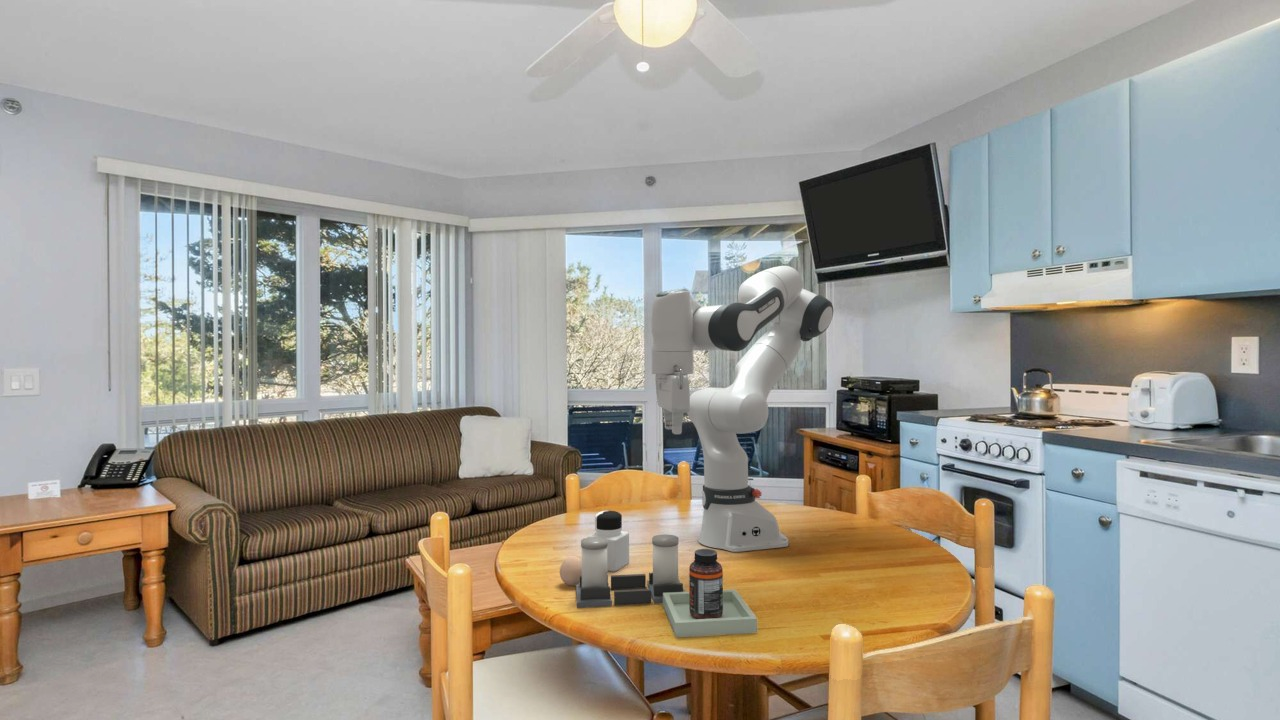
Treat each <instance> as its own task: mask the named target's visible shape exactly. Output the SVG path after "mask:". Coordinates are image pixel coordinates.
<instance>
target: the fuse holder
mask: <svg viewBox="0 0 1280 720" xmlns="http://www.w3.org/2000/svg"><path fill="white" fill-rule="evenodd" d="M651 540H652V541H651V544H652V572H649V573H648V580H647V579H646V573H634V574H632V573H631V574H615V575H610V583H609V575H608V571H607V546H608V540H607V539H606V538H602V537H589V538H587V537H586V538H583V539H581V540H580V547H581V562H582V576H580V582H579V583H578V584H576V585H575V587H576V588H575V591H576V592H575V594H576V608H577V609H582V608H601V607H603V608H604V607H612V606H613V605H614V606H631V605H635V606H636V605H651V604H652V603H653V604H654V605H663V593H669V592H686V591H685V589H684V584H683V583H682V582H681V581H680V579H679V537H678V536H677V535H674V534H668V533H667V534H666V533H665V534H657V535H654V536H652V537H651ZM646 582H647V584H646ZM646 585H647V586H646ZM611 590H613V599H612V595H611Z"/></svg>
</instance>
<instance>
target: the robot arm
mask: <svg viewBox="0 0 1280 720" xmlns="http://www.w3.org/2000/svg"><path fill="white" fill-rule="evenodd" d="M803 287H804V283H803V278H802V276H801V274H800V273H799V272H798V270H797V269H796V268H794V267H792V266H789V265H779V266H774V267H770V268H767V269H764V270H761V271H759V272H757V273H754V274H753V275H751V276H750V277H748V278H746V279H745V280H744V281H743V282H742V283H741V284H740V286H739V289H738V292H737V293H738V294H737V300H738V302H733V303H732V302H731V303H726V304H717V305H707V306H704V305H703V304H700V303H699V302H697V301H696V300H695V299H694V298H693V296H692V295H691V292H690V290H689V289H686V288H678V289H671V290H664V291H660V292H658V293H657V294H656V295H655V297H654V299H653V301H652V302H653V303H652V309H651V335H652V338H653V344H652V348H651V374H652V375H654V376H655V378H654V379H655V390H656V391H655V392H656V400H657V405H658V406H659V407H660V408H661V409H662V410H663V411H662V413H663V419H664V428H665V430H671V433H672V434H674V435H681V434H682V432H683V421H684V414H685V413H686V414H687V417H688V418H689V420H690V421H691V422H692V424H693V425H694V428H695V429H696V431H697V434H698V437H699V441H700V445H701V448H702V453H703V454H702V456H703V473H704V474H703V475H704V477H703V481H704V482H703V483H704V484H703V485H702V491H701V493H702V494H701V495H702V497H701V501H702V507H703V511H702V513H703V514H702V523H701V527H700V532H699V535H698V538H697V540H698V542H699V543H700V544H701V545H703V546H705V547H708V548H709V547H710V548H713V549H714V548H715V549H721V550H726V551H729V552H732V553H733V552H734V553H738V552H739V553H742V552H749V551H758V550H767V549H769V550H770V549H775V548H776V549H778V548H785V547H786V548H787V547H788V546H789V539H788V537H787V536H786V535H785V534H784V533H782V532H780V529H779V528H780V527H779V523H778V520H777V518H776V517H775V516H774V514H773V513H771V512H770V511H769V510H768V509H767V508H765V507H764V506H763V505H762V504H760V503H759V502H758V501H756V499H761V497H762V495H763V494H762V491H761V490H759V489H758V488H754V487H752V486H750V485H749V457H748V454H747V452H746V450H744V449H743V447H742V446H741V444H740V442H739V439H738V435H737V434H740V435H741V434H749V433H755V432H758V431H760V430H761V429H763V428H764V427H765V425H766V423H767V421H768V418H769V415H770V414H769V413H770V411H769V404H768V402H767V401H768V400H767V399H768V397H769V395H770V393H771V391H772V389H773V388H775V386H776V384H777V383H778V381H779V380H780V379H781V378H782V377H783V376H784V374H785V373H786V372H787V371H788V369H789V368H790V366H791V365H792V364H793V362H794V360H795V359H796V357H797V355H798V354H799V352H800V349H801V346H802V342H809V341H811V340H812V339H813V338H817V337H818V336H819V337H820V335H821V334H823V333H825V331H827V330H828V328H829V327H830V326H831V325H830V324H831V322H832V321H833V317H834V306H833V303H832V302H831V300H830V299H828V298H826V297H825V296H823V295H821V294H816V293H814V292H812V291H810V290H807V289H805V288H803ZM769 323H773V325H772V327H771V328H770V329H769V330H767V331H766V332H765V333H764V334H763V335H761V336H760V338H758V340H755V341H756V342H754V343H753V345H751V347H750V348H749V350H747V352H746V353H745V354H744V355H743V356H742V357H741V358H740V360H738V361H737V363H736V365H735V369H734V372H735V377H736V378H735V379H734V381H733V383H731V385H729V386H727V387H709V386H708V387H705V388H702V389H699V390H696V391H694V392H692V394H691V395H690V380H689V379H690V378H689V377H688V375H694V373H695V372H694V370H695V369H694V368H695V365H694V364H695V362H694V357H695V356H694V352H695V351H726V352H740V351H743V350H744V349H746V348H747V347H748V346H749V345H750V343H751V342H752V340H753V339H754V337H755V336H756V334H758V332H759V331H760V330H762V329H763V328H764V327H765V326H766V325H768V324H769Z"/></svg>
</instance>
